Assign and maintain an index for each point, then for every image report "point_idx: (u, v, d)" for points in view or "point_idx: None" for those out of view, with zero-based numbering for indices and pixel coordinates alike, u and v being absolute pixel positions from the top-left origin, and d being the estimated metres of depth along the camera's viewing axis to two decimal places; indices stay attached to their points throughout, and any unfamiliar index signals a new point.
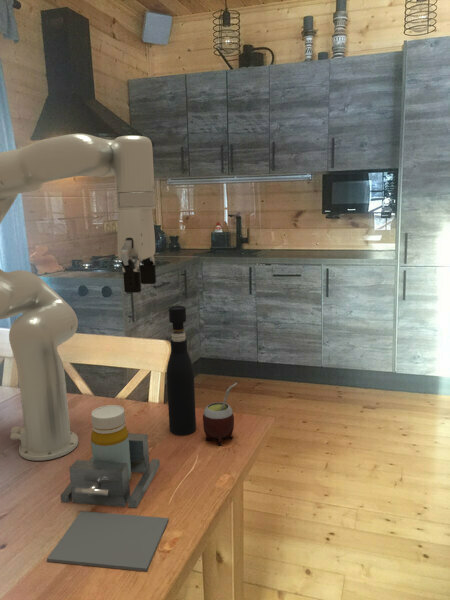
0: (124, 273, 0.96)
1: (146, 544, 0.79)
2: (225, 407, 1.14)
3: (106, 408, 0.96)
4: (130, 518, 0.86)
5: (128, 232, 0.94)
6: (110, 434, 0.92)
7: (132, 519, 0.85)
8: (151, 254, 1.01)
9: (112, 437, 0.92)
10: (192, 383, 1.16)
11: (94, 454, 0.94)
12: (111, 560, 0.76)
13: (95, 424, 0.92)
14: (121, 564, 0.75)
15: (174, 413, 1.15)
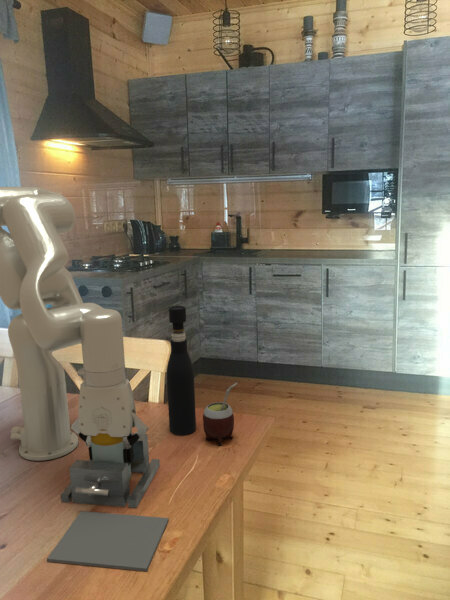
0: (125, 450, 0.94)
1: (146, 544, 0.79)
2: (225, 407, 1.14)
3: None
4: (130, 518, 0.86)
5: (132, 404, 0.93)
6: None
7: (132, 519, 0.85)
8: None
9: (112, 437, 0.92)
10: (192, 383, 1.16)
11: (94, 454, 0.94)
12: (111, 560, 0.76)
13: None
14: (121, 564, 0.75)
15: (174, 413, 1.15)
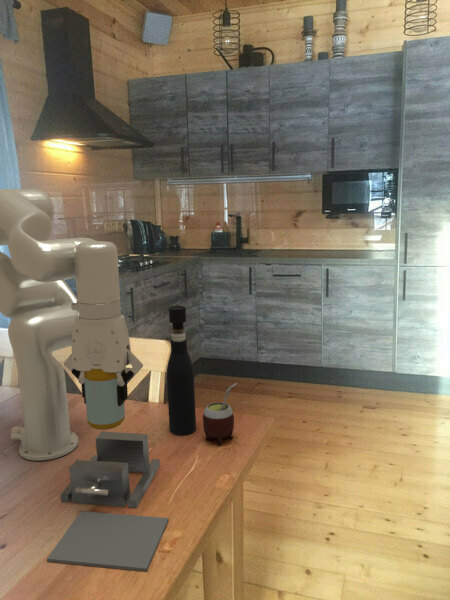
0: (119, 387, 0.92)
1: (146, 544, 0.79)
2: (225, 407, 1.14)
3: None
4: (130, 518, 0.86)
5: (126, 340, 0.91)
6: None
7: (132, 519, 0.85)
8: None
9: None
10: (192, 383, 1.16)
11: (87, 391, 0.91)
12: (111, 560, 0.76)
13: None
14: (121, 564, 0.75)
15: (174, 413, 1.15)
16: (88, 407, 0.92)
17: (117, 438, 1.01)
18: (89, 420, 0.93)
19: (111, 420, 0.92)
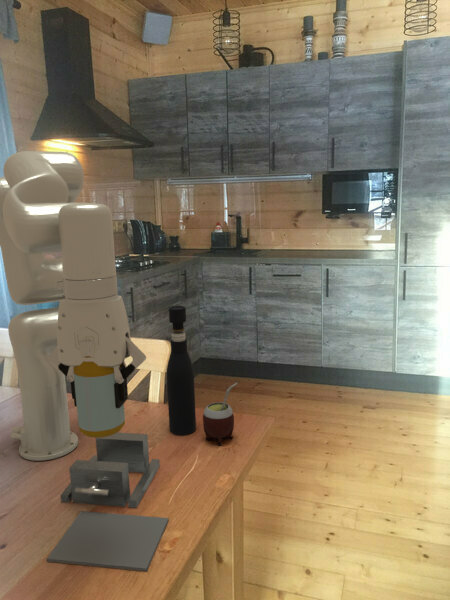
0: (117, 385, 0.74)
1: (146, 544, 0.79)
2: (225, 407, 1.14)
3: None
4: (130, 518, 0.86)
5: (125, 326, 0.73)
6: None
7: (132, 519, 0.85)
8: None
9: (100, 366, 0.72)
10: (192, 383, 1.16)
11: (77, 389, 0.74)
12: (111, 560, 0.76)
13: None
14: (121, 564, 0.75)
15: (174, 413, 1.15)
16: (79, 410, 0.74)
17: (117, 438, 1.01)
18: (81, 426, 0.75)
19: (108, 425, 0.74)
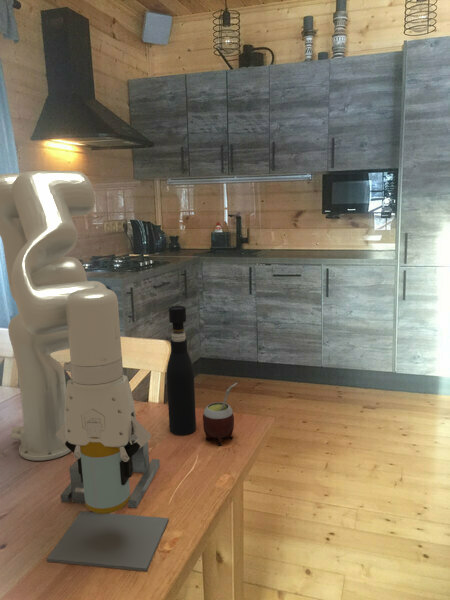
0: (122, 463, 0.76)
1: (146, 544, 0.79)
2: (225, 407, 1.14)
3: None
4: (130, 518, 0.86)
5: (131, 406, 0.75)
6: None
7: (132, 519, 0.85)
8: None
9: None
10: (192, 383, 1.16)
11: (84, 468, 0.76)
12: (111, 560, 0.76)
13: None
14: (121, 564, 0.75)
15: (174, 413, 1.15)
16: (86, 487, 0.76)
17: None
18: (87, 502, 0.77)
19: (114, 502, 0.76)
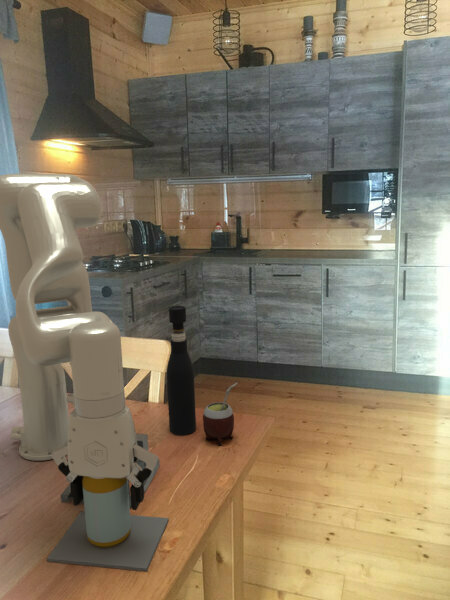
0: (134, 488, 0.77)
1: (146, 544, 0.79)
2: (225, 407, 1.14)
3: None
4: (130, 518, 0.86)
5: (133, 438, 0.76)
6: (105, 479, 0.76)
7: (132, 519, 0.85)
8: None
9: (108, 482, 0.76)
10: (192, 383, 1.16)
11: (86, 503, 0.78)
12: (111, 560, 0.76)
13: None
14: (121, 564, 0.75)
15: (174, 413, 1.15)
16: (88, 521, 0.78)
17: None
18: (89, 536, 0.79)
19: (115, 536, 0.78)
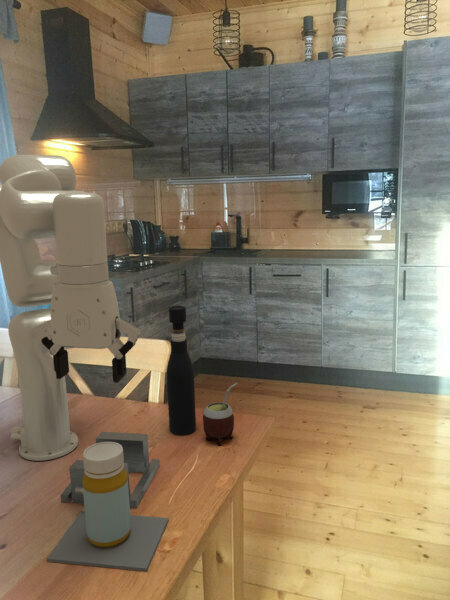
0: (116, 360, 0.78)
1: (146, 544, 0.79)
2: (225, 407, 1.14)
3: (101, 445, 0.80)
4: (130, 518, 0.86)
5: (115, 310, 0.77)
6: (105, 479, 0.76)
7: (132, 519, 0.85)
8: None
9: (108, 482, 0.76)
10: (192, 383, 1.16)
11: (86, 503, 0.78)
12: (111, 560, 0.76)
13: (87, 467, 0.76)
14: (121, 564, 0.75)
15: (174, 413, 1.15)
16: (88, 521, 0.78)
17: (117, 438, 1.01)
18: (89, 536, 0.79)
19: (115, 537, 0.78)
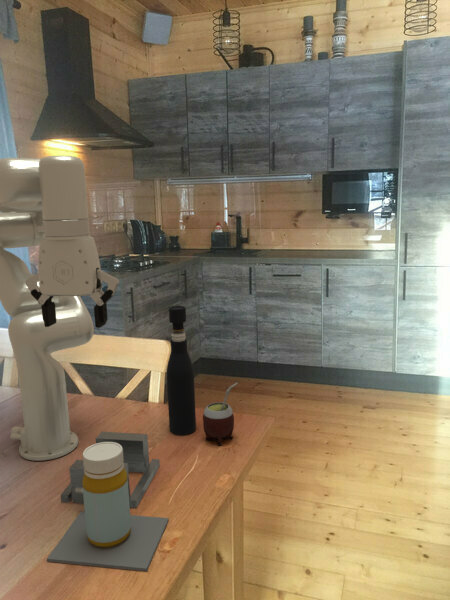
0: (97, 307, 0.87)
1: (146, 544, 0.79)
2: (225, 407, 1.14)
3: (101, 445, 0.80)
4: (130, 518, 0.86)
5: (96, 262, 0.86)
6: (105, 479, 0.76)
7: (132, 519, 0.85)
8: None
9: (108, 483, 0.76)
10: (192, 383, 1.16)
11: (86, 503, 0.78)
12: (111, 560, 0.76)
13: (87, 467, 0.76)
14: (121, 564, 0.75)
15: (174, 413, 1.15)
16: (88, 521, 0.78)
17: (117, 438, 1.01)
18: (89, 536, 0.79)
19: (115, 537, 0.78)
